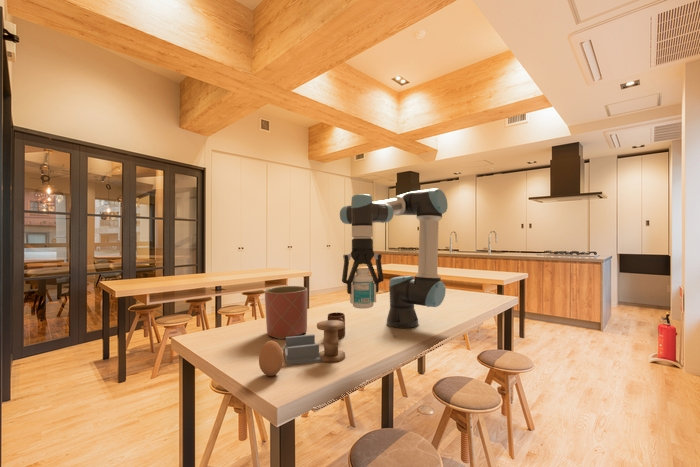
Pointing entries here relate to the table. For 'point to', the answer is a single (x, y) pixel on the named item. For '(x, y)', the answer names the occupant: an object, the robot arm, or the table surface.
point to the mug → (340, 318)
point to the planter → (286, 311)
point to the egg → (271, 358)
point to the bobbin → (331, 341)
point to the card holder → (301, 350)
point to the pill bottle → (363, 289)
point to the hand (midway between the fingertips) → (363, 302)
